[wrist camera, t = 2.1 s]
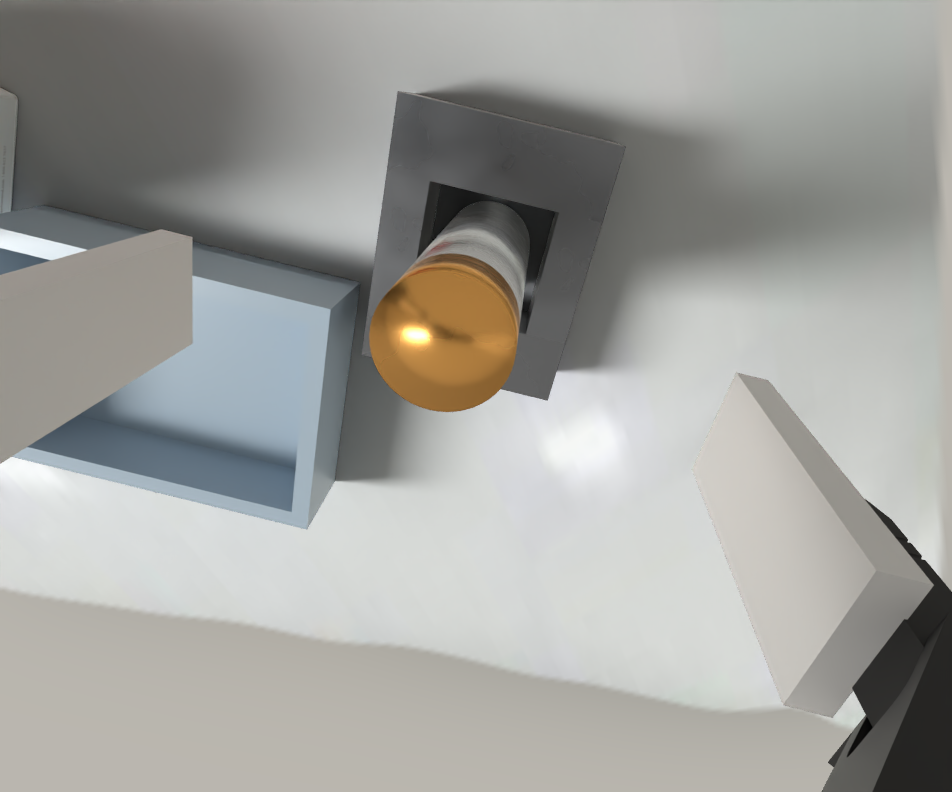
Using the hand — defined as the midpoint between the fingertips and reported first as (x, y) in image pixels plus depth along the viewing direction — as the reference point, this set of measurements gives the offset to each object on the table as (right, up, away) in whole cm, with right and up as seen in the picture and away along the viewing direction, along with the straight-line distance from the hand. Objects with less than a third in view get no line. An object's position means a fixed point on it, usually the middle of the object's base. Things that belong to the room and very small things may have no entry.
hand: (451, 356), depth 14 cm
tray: (-13, +1, +15) cm, 20 cm away
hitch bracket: (+1, +5, +11) cm, 12 cm away
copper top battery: (+1, +5, +11) cm, 12 cm away
